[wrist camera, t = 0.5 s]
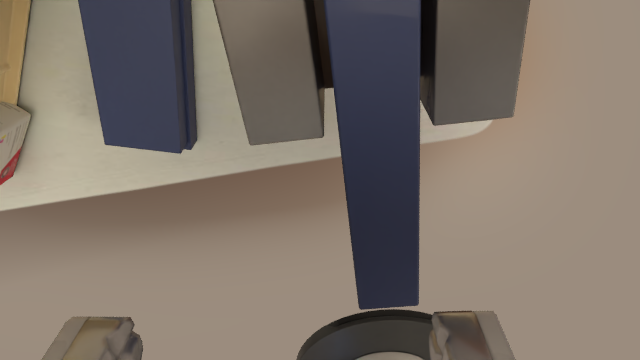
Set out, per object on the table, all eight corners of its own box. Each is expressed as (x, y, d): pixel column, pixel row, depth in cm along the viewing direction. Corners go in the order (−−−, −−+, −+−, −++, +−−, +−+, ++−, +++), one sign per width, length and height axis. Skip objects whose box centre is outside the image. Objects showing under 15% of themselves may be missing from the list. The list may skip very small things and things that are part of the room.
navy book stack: (197, 140, 39) (184, 161, 36) (123, 131, 39) (104, 151, 35) (189, -46, 30) (172, -41, 27) (94, -60, 30) (65, -57, 27)
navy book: (400, 228, 21) (419, 306, 17) (353, 232, 21) (359, 310, 17) (388, -266, 11) (424, -375, 7) (299, -249, 11) (283, -345, 7)
